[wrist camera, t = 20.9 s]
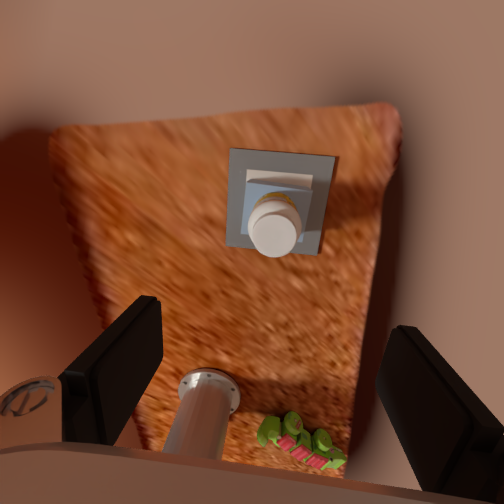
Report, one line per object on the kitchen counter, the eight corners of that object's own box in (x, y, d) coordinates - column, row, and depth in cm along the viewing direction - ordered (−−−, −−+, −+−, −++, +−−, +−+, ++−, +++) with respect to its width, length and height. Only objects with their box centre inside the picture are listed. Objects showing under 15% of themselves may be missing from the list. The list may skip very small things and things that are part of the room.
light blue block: (298, 231, 37) (302, 242, 32) (245, 224, 37) (240, 233, 32) (307, 186, 34) (312, 191, 30) (250, 178, 34) (246, 182, 30)
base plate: (316, 254, 38) (316, 255, 38) (226, 244, 39) (225, 246, 38) (334, 156, 33) (335, 156, 33) (230, 148, 34) (229, 148, 33)
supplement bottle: (253, 190, 30) (243, 205, 21) (298, 191, 30) (307, 206, 21) (253, 233, 32) (244, 263, 23) (295, 234, 32) (302, 265, 23)
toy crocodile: (347, 442, 53) (356, 476, 47) (327, 457, 55) (332, 491, 49) (272, 397, 50) (271, 428, 44) (253, 415, 52) (250, 446, 47)
